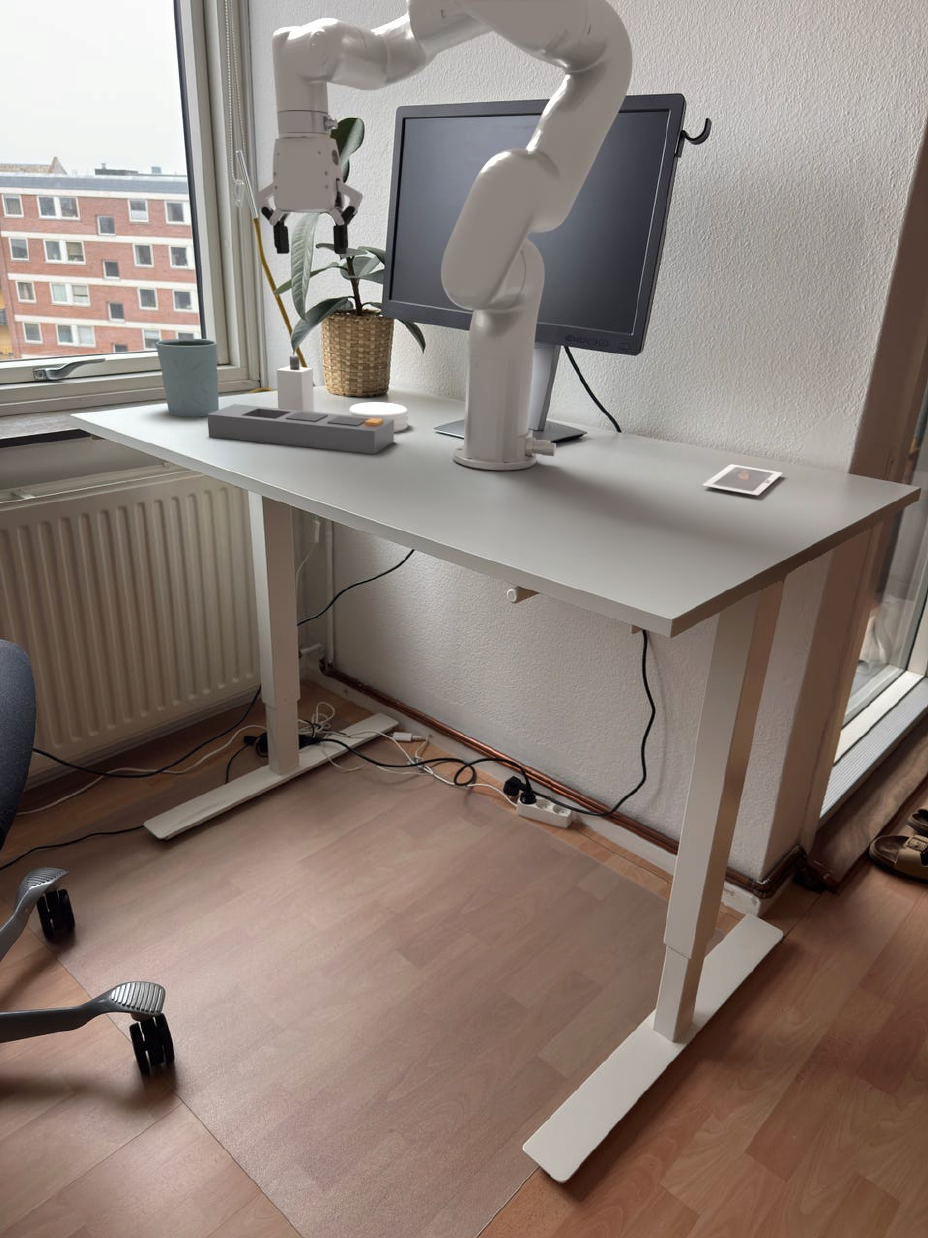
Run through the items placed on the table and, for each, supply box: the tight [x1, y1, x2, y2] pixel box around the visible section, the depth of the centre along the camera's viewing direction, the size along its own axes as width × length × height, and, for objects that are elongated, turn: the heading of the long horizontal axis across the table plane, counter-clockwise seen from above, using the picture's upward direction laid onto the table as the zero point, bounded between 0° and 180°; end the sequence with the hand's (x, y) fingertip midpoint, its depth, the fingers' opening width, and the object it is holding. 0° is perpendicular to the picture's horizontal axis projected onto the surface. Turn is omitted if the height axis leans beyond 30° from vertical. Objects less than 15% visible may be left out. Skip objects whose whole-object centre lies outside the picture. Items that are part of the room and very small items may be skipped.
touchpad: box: [701, 464, 783, 496], centre depth 128 cm, size 8×15×2 cm, turn 149°
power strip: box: [206, 403, 395, 455], centre depth 141 cm, size 28×9×4 cm, turn 75°
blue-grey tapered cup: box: [155, 338, 220, 418], centre depth 155 cm, size 10×10×12 cm
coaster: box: [349, 401, 409, 433], centre depth 152 cm, size 10×10×4 cm
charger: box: [276, 355, 315, 412], centre depth 150 cm, size 4×4×11 cm
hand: (311, 253), depth 137 cm, fingers open, 9 cm apart
